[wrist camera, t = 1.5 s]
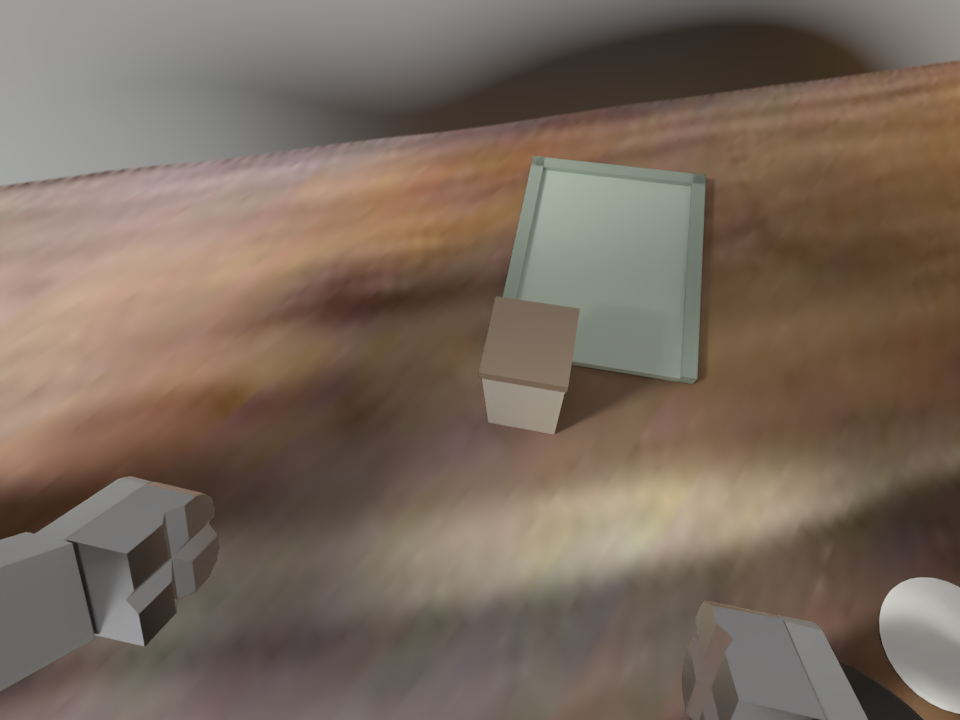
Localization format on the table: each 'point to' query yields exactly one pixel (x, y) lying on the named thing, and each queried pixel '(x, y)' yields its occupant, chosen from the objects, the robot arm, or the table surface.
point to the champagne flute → (925, 638)
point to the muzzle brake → (877, 698)
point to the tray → (616, 262)
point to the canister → (527, 363)
